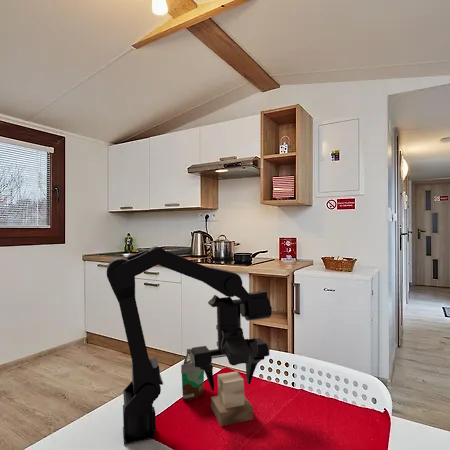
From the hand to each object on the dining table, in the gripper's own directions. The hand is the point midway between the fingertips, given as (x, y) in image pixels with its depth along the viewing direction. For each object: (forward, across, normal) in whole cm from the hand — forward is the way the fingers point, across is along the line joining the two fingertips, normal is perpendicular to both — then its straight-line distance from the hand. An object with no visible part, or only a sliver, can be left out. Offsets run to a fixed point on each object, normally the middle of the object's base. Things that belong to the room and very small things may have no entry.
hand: (231, 387), depth 84 cm
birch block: (+4, 0, 0) cm, 4 cm away
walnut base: (+6, 0, 0) cm, 7 cm away
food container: (+7, -6, +14) cm, 17 cm away
